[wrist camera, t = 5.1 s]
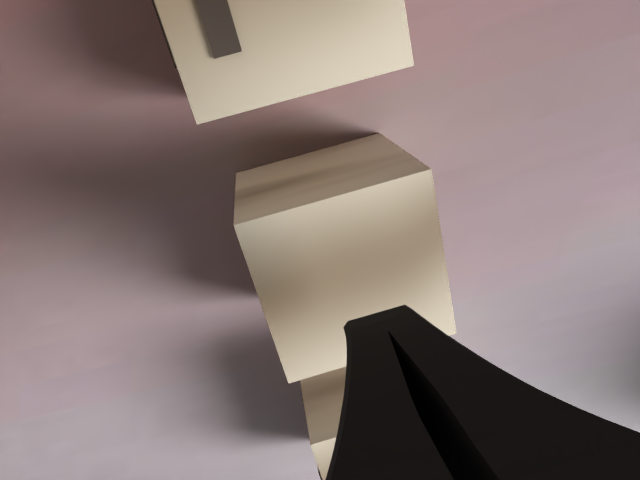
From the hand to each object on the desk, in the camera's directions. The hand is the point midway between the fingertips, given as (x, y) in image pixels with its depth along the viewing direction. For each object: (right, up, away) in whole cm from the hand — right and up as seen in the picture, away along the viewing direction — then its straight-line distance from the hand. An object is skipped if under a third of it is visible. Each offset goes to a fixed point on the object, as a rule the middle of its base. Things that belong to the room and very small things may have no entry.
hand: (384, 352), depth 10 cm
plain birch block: (-1, +3, +7) cm, 8 cm away
